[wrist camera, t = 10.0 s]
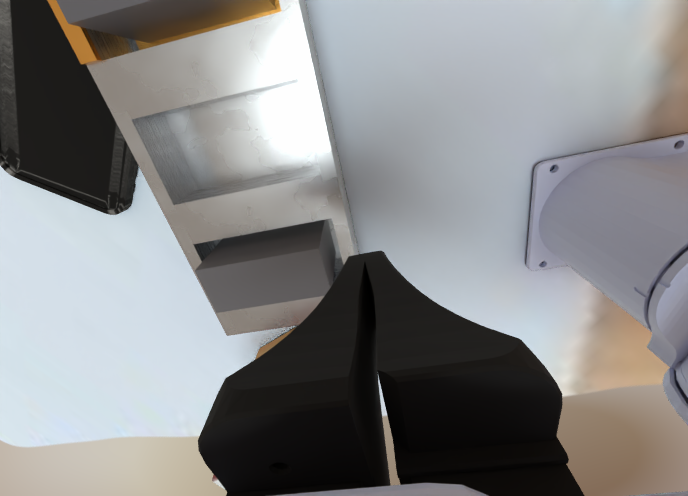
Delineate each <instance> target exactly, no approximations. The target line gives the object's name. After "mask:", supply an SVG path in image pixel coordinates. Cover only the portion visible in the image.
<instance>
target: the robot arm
mask: <svg viewBox="0 0 688 496" xmlns="http://www.w3.org/2000/svg"><path fill="white" fill-rule="evenodd" d="M677 142H678V143H677ZM675 143H677V145H676V146H675V147H674V145H675ZM552 165H555V167H554V169H553V170H552V171H550V167H551V166H552ZM543 261H544V262H543ZM541 262H543V263H542V264H540V263H541ZM539 264H540V265H539ZM526 266H527V267H528V268H529V269H530V270H531V271H537V270H544V269H550V268H557V267H563V266H569V267H571V268H572V269H573V270H574V271H576V272H577V273H578V274H579V275H581V276H582V277H583V278H584V279H586V280H587V281H588V282H589V283H591V284H592V285H593V286H594V287H596V288H597V289H598V290H600V291H601V292H602V293H603V294H605V295H606V296H607V297H608V298H610V299H611V300H612V301H613V302H615V303H616V304H617V305H618V306H620V307H621V308H622V309H623V310H625V311H626V312H627V313H628V314H630V315H631V316H632V317H633V318H635V319H636V320H637V321H638V322H640V323H641V324H642V325H643V326H645V327H646V328H647V329H648V330H650V331H651V332H652V337H651V340H650V342H649V344H648V345H647V348H648V349H649V350H650V351H652V352H653V353H654V354H655V355H656V356H657V357H659V358H660V359H661V360H662V361H663V362H664V363H666V364H667V365H668V366H669V367H670V368H669V369H668V370H667V372H666V373H665V374H664V379H663V387H664V391H665V394H666V396H667V398H668V400H669V401H670V403H671V405H672V406H673V407H674V409H675V410H676V412H677V413H678V414H679V416H680V417H681V418H682V419H683V420H684V422H685V423H686V424H687V425H688V133H686V134H680V135H675V136H670V137H665V138H660V139H655V140H650V141H645V142H639V143H634V144H629V145H624V146H619V147H614V148H609V149H603V150H598V151H593V152H588V153H583V154H578V155H573V156H568V157H562V158H557V159H552V160H547V161H543V162H540V163H539V164H537V165H536V167H535V169H534V177H533V189H532V201H531V213H530V225H529V237H528V249H527V261H526ZM378 375H379V380H380V384H381V389H382V393H383V397H384V402H385V406H386V411H387V415H388V420H389V424H390V428H391V433H392V437H393V444H394V452H395V461H396V469H397V475H398V478H399V480H400V484H401V485H393V486H390V479H389V470H388V462H387V454H386V446H385V437H384V429H383V422H382V412H381V403H380V395H379V386H378ZM561 409H562V393H561V391H560V389H559V387H558V385H557V383H556V382H555V380H554V379H553V377H552V376H551V374H550V373H549V372H548V370H547V369H546V368H545V366H544V365H543V364H542V363H541V362H540V360H539V359H538V358H537V357H536V356H535V355H534V354H533V353H532V351H531V350H530V349H529V348H528V347H527V346H526V345H525V344H524V343H523V342H522V340H520V339H518V338H515V337H513V336H510V335H507V334H504V333H501V332H498V331H495V330H492V329H489V328H486V327H484V326H481V325H479V324H477V323H474V322H472V321H470V320H467V319H465V318H463V317H461V316H459V315H457V314H455V313H453V312H451V311H449V310H447V309H446V308H444V307H442V306H440V305H439V304H437V303H435V302H434V301H432V300H431V299H430V298H428V297H427V296H425V295H424V294H423V293H421V292H420V291H419V290H418V289H416V288H415V287H414V286H413V285H412V284H411V283H409V282H408V281H407V280H406V279H405V278H404V277H403V276H402V275H401V274H400V273H399V272H398V271H397V270H396V268H395V267H394V266H393V265H392V264H391V262H390V261H389V260H388V258H387V257H386V255H385V253H384V252H382V251H376V252H370V253H364V254H358V255H353V256H349V257H348V258H347V260H346V262H345V264H344V265H343V267H342V269H341V271H340V273H339V275H338V276H337V278H336V280H335V281H334V283H333V284H332V286H331V288H330V289H329V290H328V292H327V293H326V295H325V296H324V297H323V299H322V300H321V302H320V303H319V304H318V305H317V307H316V308H315V309H314V310H313V311H312V312H311V313H310V314H309V316H308V317H307V318H306V319H305V320H304V321H303V322H302V323H300V324H299V325H298V326H297V327H296V328H295V329H294V330H293V331H292V332H291V333H290V334H288V335H287V336H286V337H285V338H284V339H283V340H281V341H280V342H279V343H278V344H276V345H275V346H274V347H272V348H271V349H270V350H268V351H267V352H266V353H264V354H263V355H261V356H260V357H259V358H257V359H256V360H254V361H253V362H251V363H249V364H248V365H246V366H245V367H243V368H242V369H240V370H238V371H237V372H235V373H234V374H232V375H230V376H229V377H227V378H226V379H225V381H224V383H223V385H222V387H221V389H220V391H219V393H218V395H217V397H216V399H215V401H214V404H213V406H212V409H211V411H210V413H209V416H208V418H207V420H206V423H205V425H204V427H203V430H202V432H201V434H200V437H199V439H198V445H199V446H198V447H199V452H200V454H201V456H202V457H203V460H204V461H205V463H206V465H207V466H208V467H209V469H210V470H211V471H212V473H213V474H214V475H215V476H216V478H217V479H218V480H219V482H220V483H221V484H222V486H223V487H224V488H225V490H226V491H227V495H226V496H584V494H583V492H582V491H581V489H580V487H579V485H578V484H577V482H576V481H575V479H574V477H573V475H572V473H571V472H570V470H569V469H568V466H567V465H566V463H568V460H569V459H568V456H567V453H566V452H565V450H564V448H563V447H562V445H561V443H560V442H559V440H558V438H557V437H556V435H557V429H558V425H559V419H560V414H561ZM633 496H688V491H686V492H674V493H659V494H646V495H633Z"/></svg>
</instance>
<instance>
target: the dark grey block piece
mask: <svg viewBox="0 0 688 496" xmlns="http://www.w3.org/2000/svg"><path fill="white" fill-rule="evenodd" d="M56 1H57V3H58V5H59V7H60V9H61V11H62V13H63V14H64V16H65V18H66V20H67V22H68V24H71V25H75V26H79V27H83V28H87V29H92V30H96V31H100V32H104V33H108V34H112V35H117V36H121V37H125V38H129V39H133V40H137V41H142V42H146V43H151V42H155V41H159V40H162V39H166V38H170V37H174V36H177V35H181V34H185V33H189V32H193V31H196V30H200V29H204V28H208V27H211V26H215V25H219V24H223V23H226V22H230V21H234V20H238V19H242V18H245V17H249V16H253V15H257V14H260V13H264V12H268V11H272V10H276V5H275V0H56Z"/></svg>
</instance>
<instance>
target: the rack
mask: <svg viewBox="0 0 688 496" xmlns="http://www.w3.org/2000/svg"><path fill="white" fill-rule="evenodd" d="M47 1H48V2H49V4H50V6H51V8H52V10H53V12H54V14H55V16H56V18H57V20H58V21H59V23H60V25H61V27H62V29H63V31H64V33H65V35H66V37H67V39H68V40H69V42H70V44H71V46H72V48H73V50H74V52H75V54H76V56H77V58H78V60H79V61H80V63H81V65H87V67H88V69H89V71H90V73H91V75H92V77H93V79H94V81H95V83H96V84H97V86H98V88H99V90H100V92H101V94H102V96H103V98H104V100H105V102H106V104H107V106H108V108H109V109H110V111H111V113H112V115H113V117H114V119H115V121H116V123H117V125H118V127H119V129H120V131H121V133H122V135H123V136H124V138H125V140H126V142H127V144H128V146H129V148H130V150H131V152H132V154H133V156H134V158H135V160H136V161H137V163H138V165H139V167H140V169H141V171H142V173H143V175H144V177H145V179H146V181H147V183H148V185H149V187H150V188H151V190H152V192H153V194H154V196H155V198H156V200H157V202H158V204H159V206H160V208H161V210H162V212H163V213H164V215H165V217H166V219H167V221H168V223H169V225H170V227H171V229H172V231H173V233H174V235H175V237H176V238H177V240H178V242H179V244H180V246H181V248H182V250H183V252H184V254H185V256H186V258H187V260H188V262H189V264H190V265H191V267H192V269H193V271H194V273H195V275H196V277H197V279H198V281H199V283H200V285H201V287H202V289H203V290H204V288H203V286H202V284H201V282H200V280H199V278H198V276H197V274H196V272H195V270H196V268H197V267H198V266H199V265H200V264H201V263H202V262H203V260H204V259H205V258H206V257H207V256H208V255H209V253H210V252H211V251H212V250H213V249H214V248H215V247H216V245H217V244H218V243H219V242H220V241H221V240H222V239H224V238H229V237H235V236H240V235H245V234H251V233H256V232H261V231H266V230H272V229H277V228H282V227H288V226H293V225H298V224H304V223H309V222H314V221H319V220H325V219H328V223H329V227H330V231H331V235H332V239H333V243H334V247H335V251H336V256H335V267H334V277H333V283H334V281H335V280H336V278H337V276H338V275H339V273H340V271H341V269H342V267H343V265H344V264H345V262H346V260H347V258H348V257H349V256H353V255H358V254H359V251H358V246H357V241H356V236H355V232H354V227H353V222H352V218H351V213H350V208H349V203H348V199H347V194H346V189H345V184H344V180H343V175H342V170H341V166H340V161H339V156H338V151H337V147H336V142H335V137H334V133H333V128H332V123H331V118H330V114H329V109H328V104H327V100H326V95H325V90H324V85H323V81H322V76H321V71H320V66H319V62H318V57H317V52H316V48H315V43H314V38H313V33H312V29H311V24H310V19H309V15H308V10H307V5H306V0H275V5H276V10H272V11H268V12H264V13H260V14H257V15H253V16H249V17H245V18H242V19H238V20H234V21H230V22H226V23H223V24H219V25H215V26H211V27H208V28H204V29H200V30H196V31H193V32H189V33H185V34H181V35H177V36H174V37H170V38H166V39H162V40H159V41H155V42H151V43H146V42H142V41H137V40H133V39H129V38H125V37H121V36H117V35H112V34H108V33H104V32H100V31H96V30H92V29H87V28H83V27H79V26H75V25H71V24H68V22H67V20H66V18H65V16H64V14H63V13H62V11H61V9H60V7H59V5H58V3H57V1H56V0H47ZM204 292H205V290H204ZM205 294H206V292H205ZM206 296H207V294H206ZM323 297H324V296H320V297H314V298H308V299H301V300H295V301H289V302H283V303H276V304H270V305H264V306H257V307H251V308H245V309H239V310H232V311H226V312H220V313H216V311H215V309H214V307H213V305H212V303H211V302H210V300H209V298H208V296H207V298H208V300H209V302H210V304H211V306H212V308H213V310H214V312H215V314H216V315H217V317H218V319H219V321H220V323H221V325H222V327H223V329H224V331H225V333H226V335H227V336H229V335H235V334H242V333H249V332H255V331H262V330H269V329H276V328H282V327H289V326H296V325H299V324H300V323H302V322H303V321H304V320H305V319H306V318H307V317H308V316H309V314H310V313H311V312H312V311H313V310H314V309H315V308H316V307H317V305H318V304H319V303H320V302H321V300H322V299H323Z"/></svg>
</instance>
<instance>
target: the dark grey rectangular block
mask: <svg viewBox="0 0 688 496" xmlns="http://www.w3.org/2000/svg"><path fill="white" fill-rule="evenodd" d="M335 256H336V251H335V247H334V243H333V239H332V235H331V231H330V227H329V223H328V219H325V220H319V221H314V222H309V223H304V224H298V225H293V226H288V227H282V228H277V229H272V230H266V231H261V232H256V233H251V234H245V235H240V236H235V237H229V238H224V239H222V240H221V241H220V242H219V243H218V244H217V245H216V247H215V248H214V249H213V250H212V251H211V252H210V253H209V255H208V256H207V257H206V258H205V259H204V260H203V262H202V263H201V264H200V265H199V266H198V267H197V268H196V270H195V272H196V274H197V276H198V278H199V280H200V282H201V284H202V286H203V288H204V290H205V292H206V294H207V296H208V298H209V300H210V302H211V303H212V305H213V307H214V309H215V311H216V313H220V312H226V311H232V310H239V309H245V308H251V307H257V306H264V305H270V304H276V303H283V302H289V301H295V300H301V299H308V298H314V297H320V296H325V295H326V293H327V292H328V290H329V289H330V288H331V286H332V284H333V277H334V267H335Z"/></svg>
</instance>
